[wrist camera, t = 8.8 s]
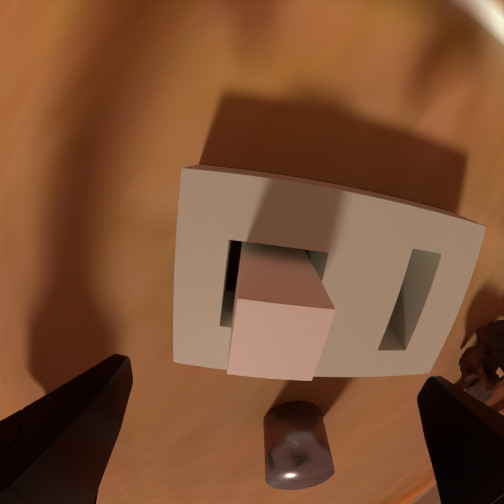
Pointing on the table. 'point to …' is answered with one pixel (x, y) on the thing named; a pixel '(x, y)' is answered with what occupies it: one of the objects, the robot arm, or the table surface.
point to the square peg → (278, 314)
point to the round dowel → (296, 446)
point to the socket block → (324, 266)
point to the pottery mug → (485, 366)
